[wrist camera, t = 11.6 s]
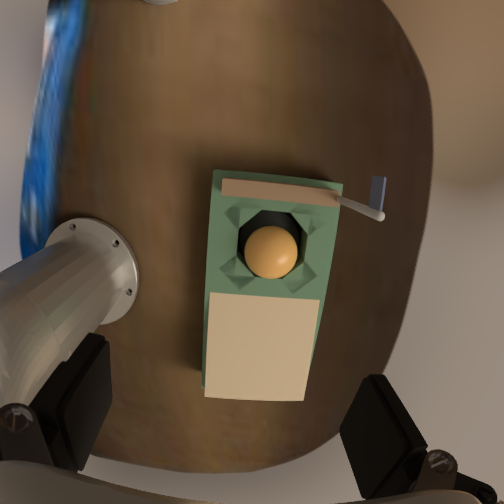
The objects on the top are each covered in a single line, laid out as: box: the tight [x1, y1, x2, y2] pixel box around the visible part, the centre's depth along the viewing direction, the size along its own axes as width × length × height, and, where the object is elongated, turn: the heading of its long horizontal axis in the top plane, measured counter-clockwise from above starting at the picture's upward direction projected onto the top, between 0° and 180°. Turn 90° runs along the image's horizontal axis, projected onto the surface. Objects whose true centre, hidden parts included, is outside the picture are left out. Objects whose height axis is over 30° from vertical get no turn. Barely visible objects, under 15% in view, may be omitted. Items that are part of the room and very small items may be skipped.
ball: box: [244, 226, 297, 279], centre depth 30 cm, size 5×5×5 cm
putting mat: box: [202, 169, 386, 401], centre depth 27 cm, size 25×12×14 cm, turn 174°
